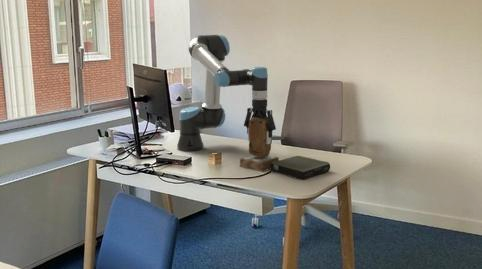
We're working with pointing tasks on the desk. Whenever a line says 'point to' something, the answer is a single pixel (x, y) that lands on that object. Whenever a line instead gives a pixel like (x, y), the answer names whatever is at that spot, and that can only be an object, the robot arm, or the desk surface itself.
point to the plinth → (257, 162)
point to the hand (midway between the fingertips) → (259, 142)
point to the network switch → (300, 167)
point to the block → (258, 137)
